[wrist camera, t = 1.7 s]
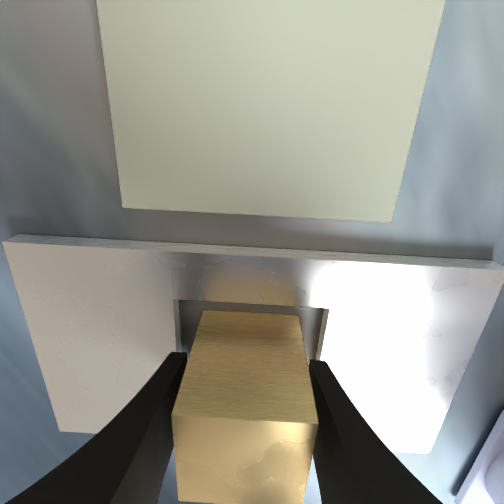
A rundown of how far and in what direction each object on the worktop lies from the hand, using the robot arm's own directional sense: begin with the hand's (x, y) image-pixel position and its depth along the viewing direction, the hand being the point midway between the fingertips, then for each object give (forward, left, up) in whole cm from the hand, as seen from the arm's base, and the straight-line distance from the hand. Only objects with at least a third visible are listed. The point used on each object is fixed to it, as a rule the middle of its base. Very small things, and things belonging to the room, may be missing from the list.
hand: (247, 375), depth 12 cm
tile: (0, -11, -1) cm, 11 cm away
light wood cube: (0, 0, -2) cm, 2 cm away
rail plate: (0, 0, -1) cm, 1 cm away
